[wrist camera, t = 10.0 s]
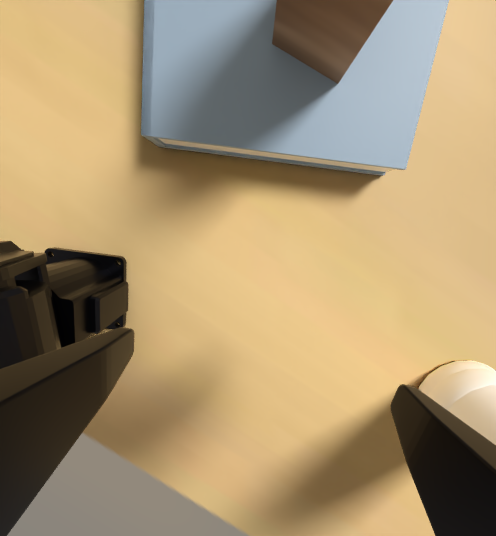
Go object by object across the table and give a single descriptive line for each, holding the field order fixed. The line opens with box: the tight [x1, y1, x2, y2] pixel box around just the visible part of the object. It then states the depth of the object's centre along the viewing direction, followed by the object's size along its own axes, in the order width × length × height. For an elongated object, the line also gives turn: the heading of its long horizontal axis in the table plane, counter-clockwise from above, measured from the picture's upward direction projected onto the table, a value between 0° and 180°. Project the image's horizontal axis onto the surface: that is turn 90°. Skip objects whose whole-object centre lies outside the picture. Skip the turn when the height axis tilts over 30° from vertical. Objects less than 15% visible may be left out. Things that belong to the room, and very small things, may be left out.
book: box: [141, 0, 449, 176], centre depth 16 cm, size 17×12×3 cm
